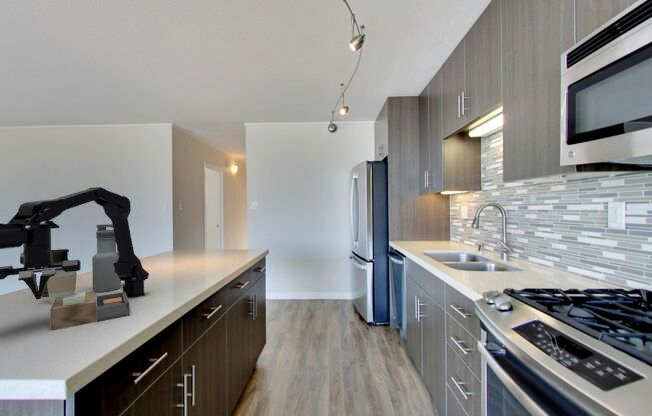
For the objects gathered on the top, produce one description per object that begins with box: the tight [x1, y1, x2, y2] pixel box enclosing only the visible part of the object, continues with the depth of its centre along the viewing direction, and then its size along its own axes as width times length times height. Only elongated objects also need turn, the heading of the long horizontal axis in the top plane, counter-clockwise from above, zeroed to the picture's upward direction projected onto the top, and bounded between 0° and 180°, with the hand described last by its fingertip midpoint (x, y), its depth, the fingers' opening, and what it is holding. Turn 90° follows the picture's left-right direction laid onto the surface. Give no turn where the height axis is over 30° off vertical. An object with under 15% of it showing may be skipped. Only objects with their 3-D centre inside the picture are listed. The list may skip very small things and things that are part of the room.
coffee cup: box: [47, 261, 78, 305], centre depth 109 cm, size 9×9×15 cm
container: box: [41, 248, 70, 298], centre depth 119 cm, size 9×9×18 cm
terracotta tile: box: [104, 297, 122, 307], centre depth 100 cm, size 5×5×2 cm
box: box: [96, 291, 131, 323], centre depth 97 cm, size 8×17×4 cm, turn 38°
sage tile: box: [63, 291, 87, 306], centre depth 89 cm, size 5×5×2 cm
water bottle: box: [91, 223, 122, 293], centre depth 125 cm, size 10×10×28 cm
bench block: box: [49, 290, 97, 331], centre depth 91 cm, size 10×16×6 cm, turn 38°
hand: (38, 299), depth 84 cm, fingers closed
